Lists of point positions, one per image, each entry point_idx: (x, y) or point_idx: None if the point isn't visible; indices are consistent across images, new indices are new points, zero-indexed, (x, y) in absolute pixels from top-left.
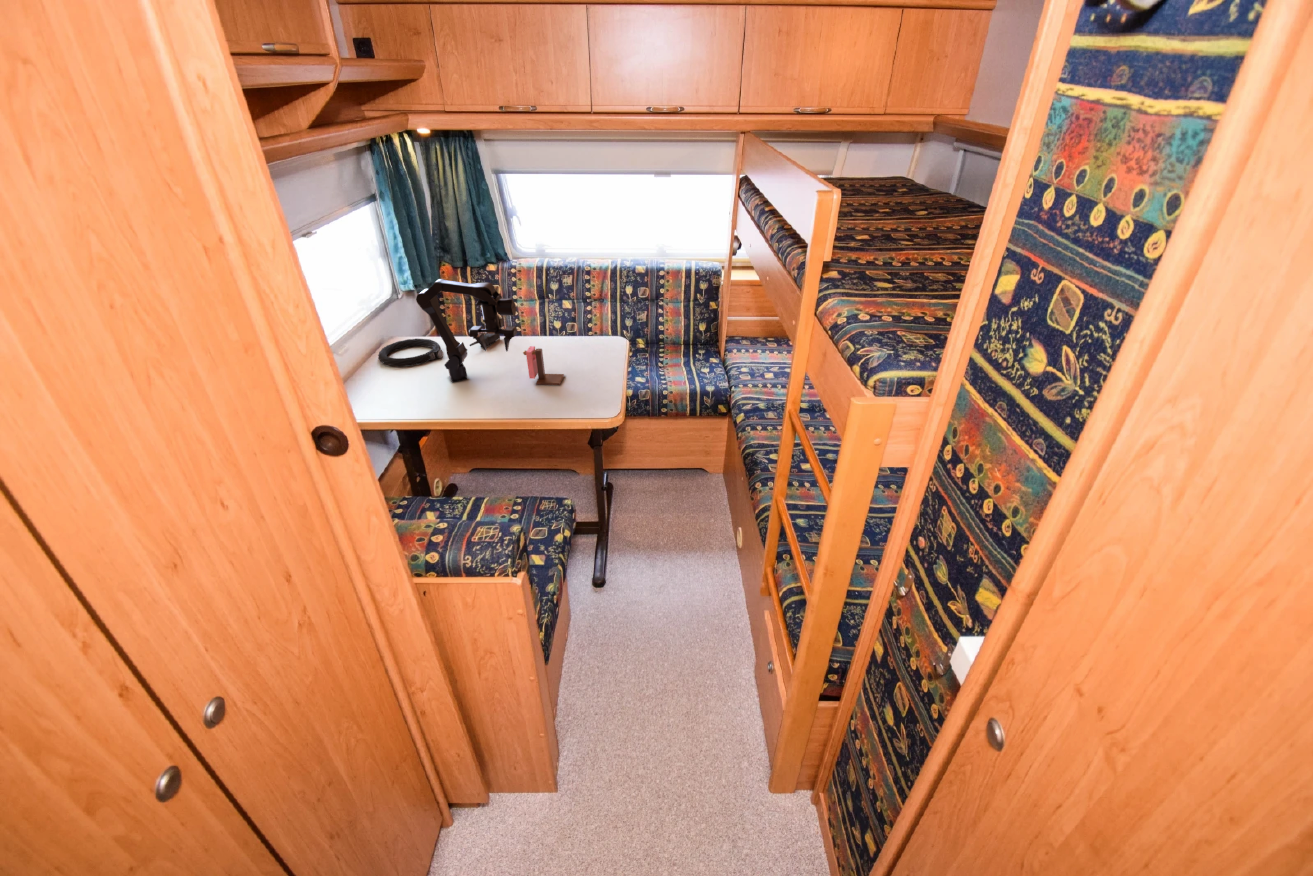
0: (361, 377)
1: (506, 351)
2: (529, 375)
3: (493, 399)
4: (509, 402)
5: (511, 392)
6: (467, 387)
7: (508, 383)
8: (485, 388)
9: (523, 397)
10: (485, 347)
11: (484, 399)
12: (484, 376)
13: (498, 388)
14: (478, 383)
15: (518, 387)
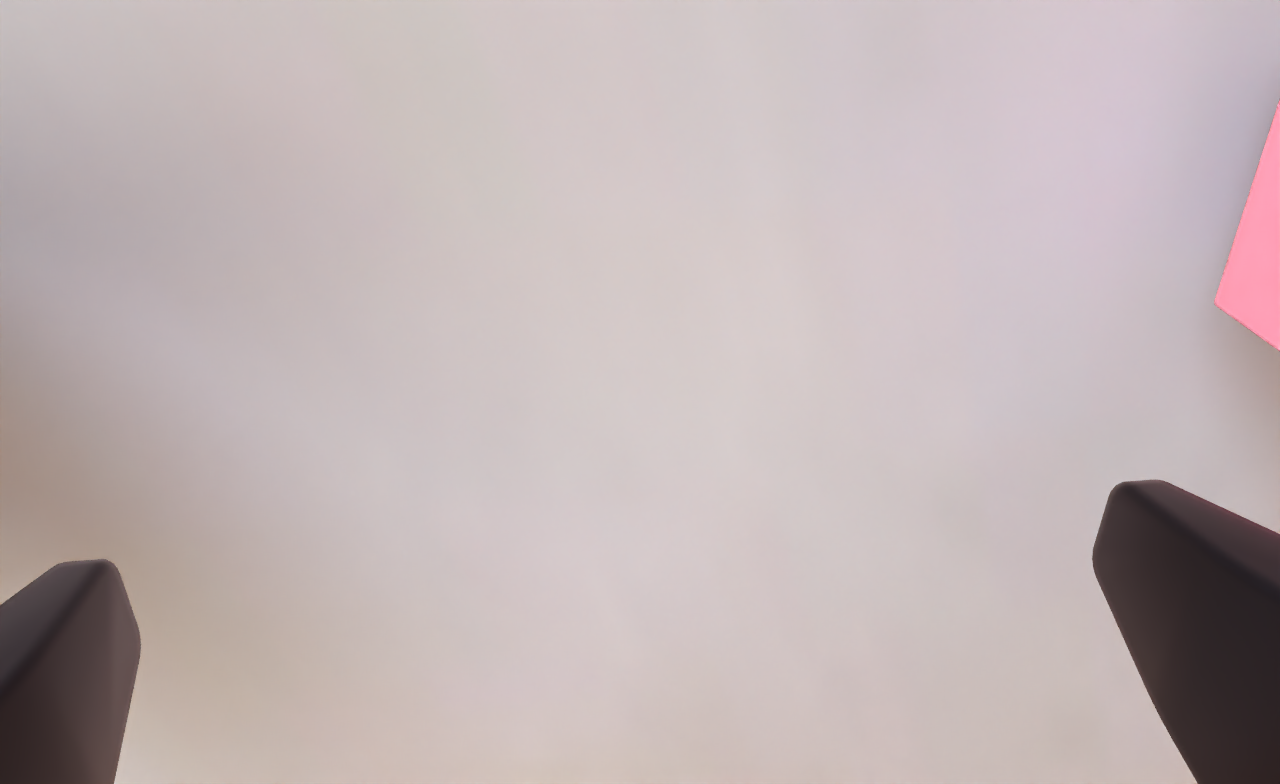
0: None
1: (1094, 556)
2: (1263, 335)
3: (672, 754)
4: (896, 778)
5: (877, 572)
6: (65, 523)
7: (763, 305)
8: (415, 515)
9: (1060, 661)
10: (74, 752)
11: (550, 771)
12: (104, 27)
13: (639, 490)
14: (177, 364)
15: (963, 422)
